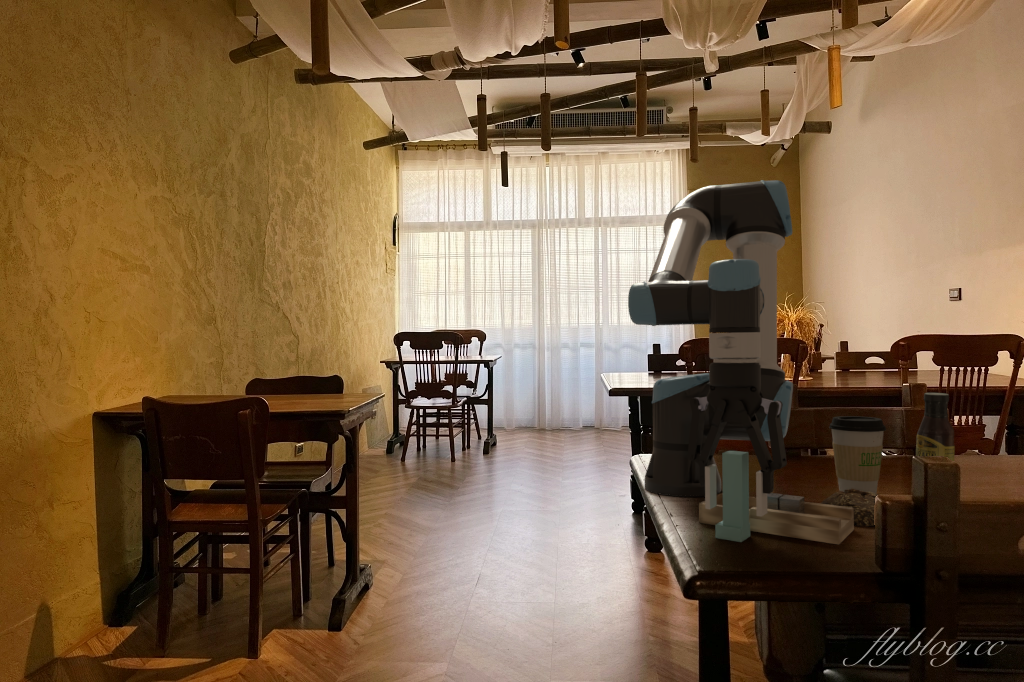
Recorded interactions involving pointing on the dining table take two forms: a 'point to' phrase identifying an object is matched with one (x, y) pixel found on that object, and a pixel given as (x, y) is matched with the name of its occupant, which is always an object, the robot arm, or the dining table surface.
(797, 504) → the chip
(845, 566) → the dining table surface
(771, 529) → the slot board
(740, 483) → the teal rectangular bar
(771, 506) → the chip
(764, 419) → the robot arm
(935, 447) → the sauce bottle
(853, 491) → the bread roll
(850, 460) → the coffee cup
